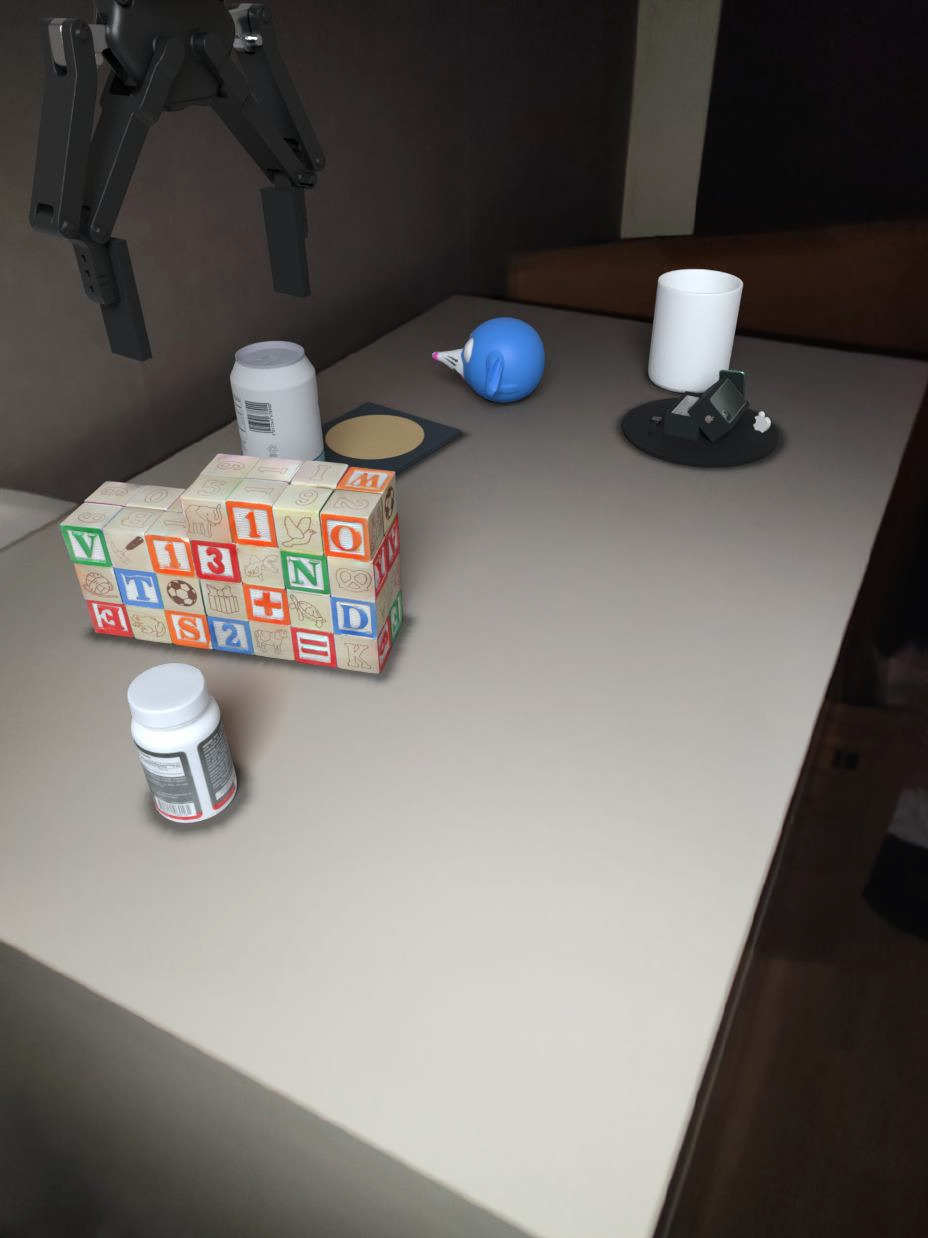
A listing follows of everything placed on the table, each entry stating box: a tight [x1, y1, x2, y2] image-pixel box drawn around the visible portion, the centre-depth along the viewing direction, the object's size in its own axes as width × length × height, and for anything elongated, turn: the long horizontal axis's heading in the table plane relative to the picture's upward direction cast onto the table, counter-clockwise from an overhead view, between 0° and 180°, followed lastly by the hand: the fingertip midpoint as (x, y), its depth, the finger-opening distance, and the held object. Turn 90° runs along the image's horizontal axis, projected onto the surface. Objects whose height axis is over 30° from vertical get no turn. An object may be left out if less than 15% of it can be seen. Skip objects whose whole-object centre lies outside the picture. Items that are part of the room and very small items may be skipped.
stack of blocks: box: [59, 453, 404, 675], centre depth 62 cm, size 21×6×12 cm, turn 78°
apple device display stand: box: [622, 369, 779, 468], centre depth 89 cm, size 15×15×6 cm
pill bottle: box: [126, 662, 238, 824], centre depth 50 cm, size 5×5×8 cm
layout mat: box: [321, 401, 462, 476], centre depth 85 cm, size 12×24×1 cm, turn 144°
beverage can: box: [229, 340, 325, 462], centre depth 77 cm, size 7×7×12 cm
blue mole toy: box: [431, 316, 546, 404], centre depth 95 cm, size 12×12×8 cm
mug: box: [647, 268, 744, 394], centre depth 99 cm, size 9×12×11 cm
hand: (218, 322), depth 58 cm, fingers open, 13 cm apart
